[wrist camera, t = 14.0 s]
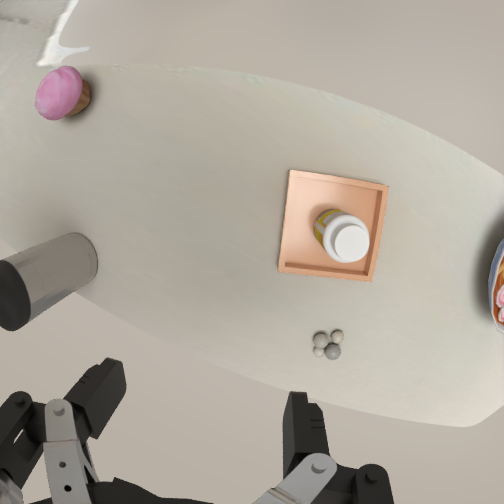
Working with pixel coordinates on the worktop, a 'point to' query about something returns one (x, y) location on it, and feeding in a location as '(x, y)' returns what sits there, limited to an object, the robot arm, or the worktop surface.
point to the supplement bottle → (342, 235)
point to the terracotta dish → (307, 211)
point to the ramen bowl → (497, 287)
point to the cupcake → (62, 94)
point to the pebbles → (332, 350)
